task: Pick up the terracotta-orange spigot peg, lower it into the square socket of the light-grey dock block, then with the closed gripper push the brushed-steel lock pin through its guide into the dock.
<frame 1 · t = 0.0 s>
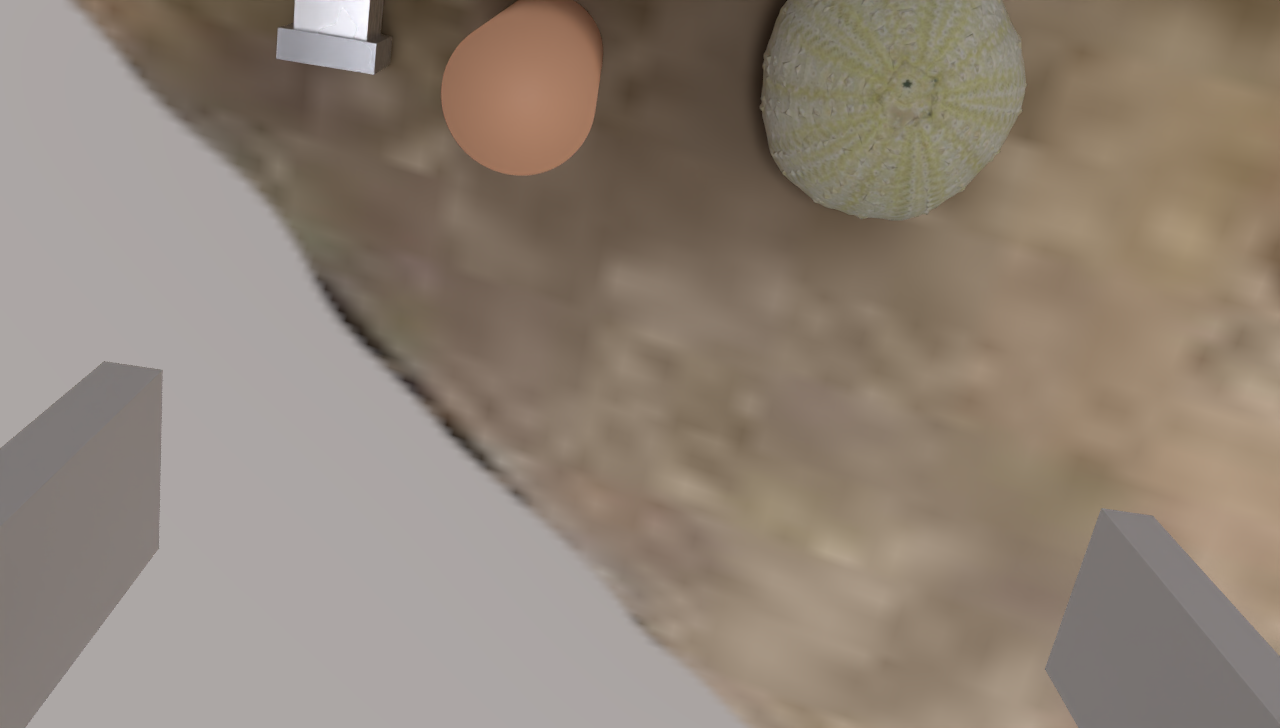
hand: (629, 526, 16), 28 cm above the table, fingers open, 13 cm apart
spigot peg: (547, 51, 41), on the table
sea urchin shell: (878, 77, 42), on the table
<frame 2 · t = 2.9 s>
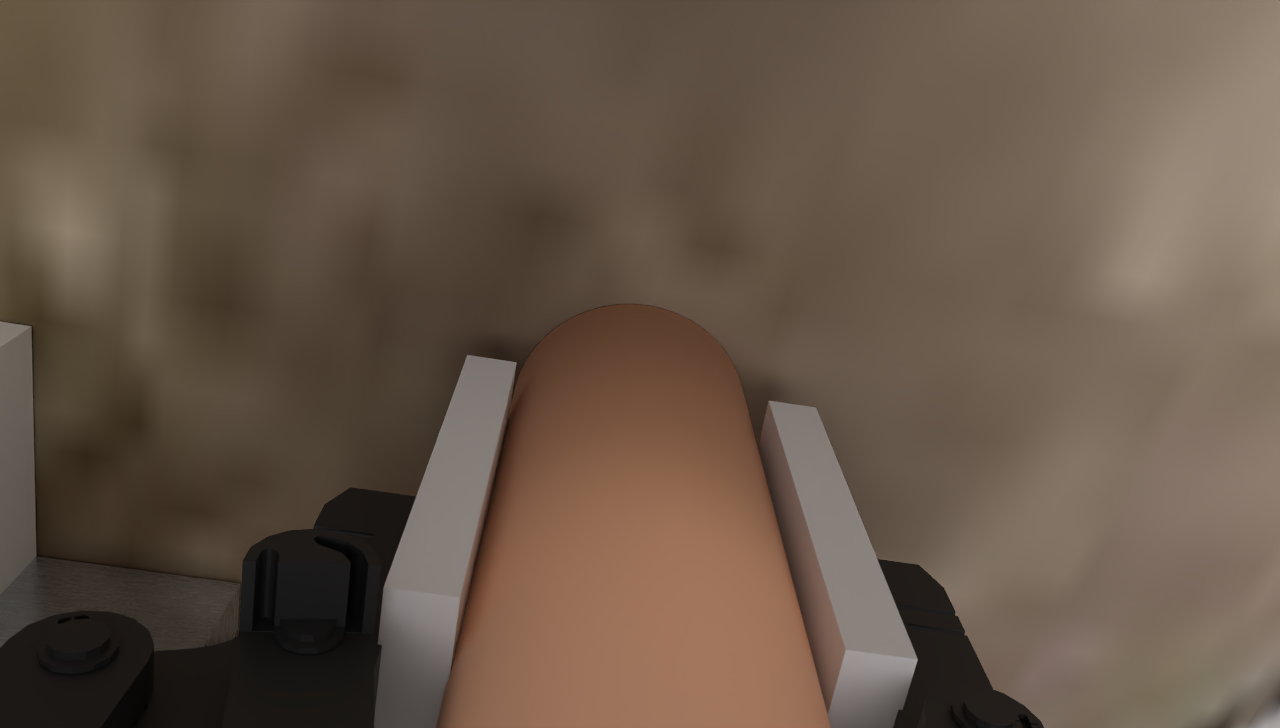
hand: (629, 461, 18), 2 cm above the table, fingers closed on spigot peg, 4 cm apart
spigot peg: (628, 415, 20), on the table, touching gripper
pin guide: (137, 688, 21), on the table
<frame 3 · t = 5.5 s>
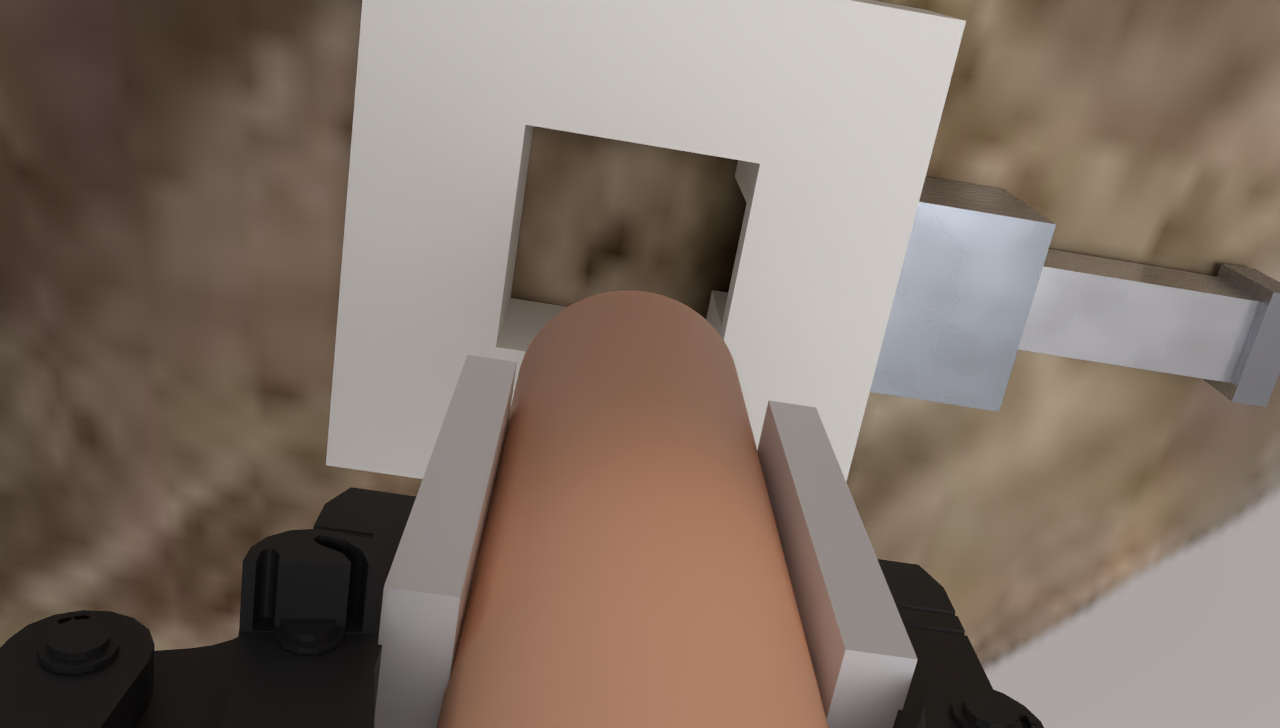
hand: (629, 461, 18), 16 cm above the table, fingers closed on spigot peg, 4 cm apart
dock: (623, 218, 33), on the table
spigot peg: (628, 396, 20), point 13 cm above the table, touching gripper
pin guide: (920, 266, 33), on the table
lock pin: (1091, 309, 32), point 2 cm above the table, slide at 5.0 cm
when the fingers open (5 cm above the table, at t = 8.1 s): spigot peg drops 2 cm, resting in dock.
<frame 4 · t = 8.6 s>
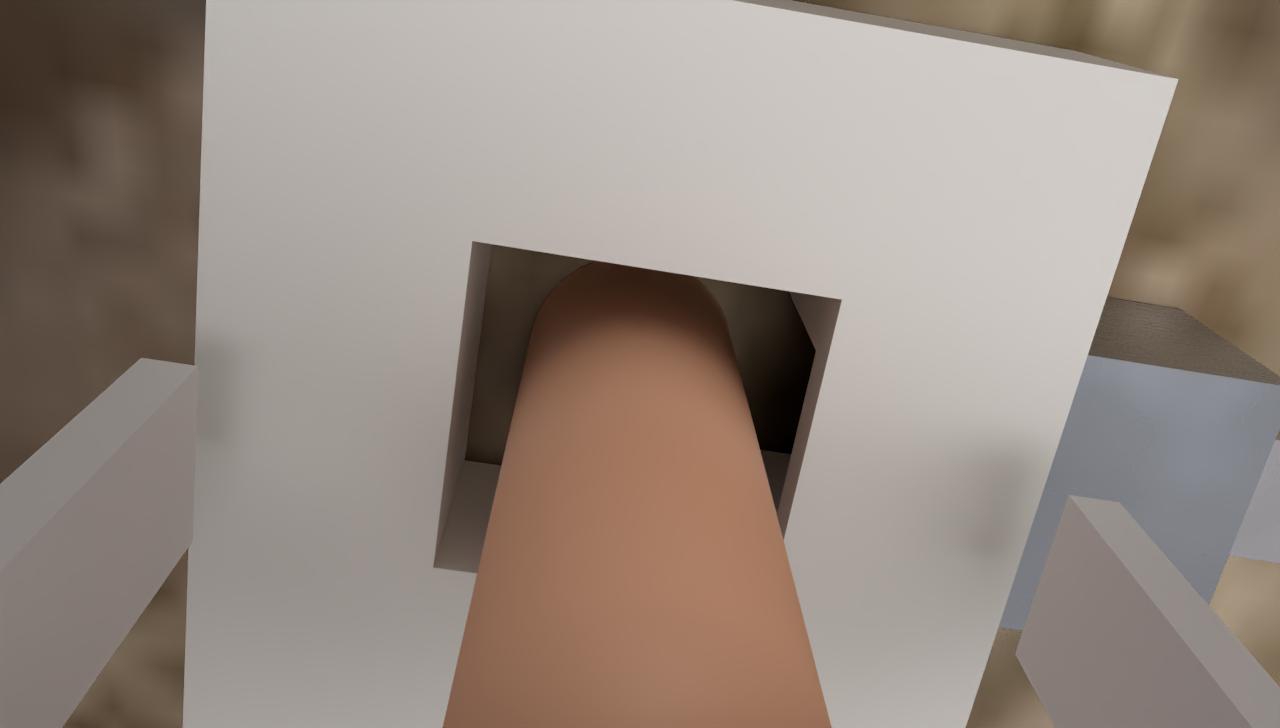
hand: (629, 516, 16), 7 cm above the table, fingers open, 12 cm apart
dock: (627, 350, 23), on the table
spigot peg: (630, 353, 23), resting in dock
pin guide: (1054, 415, 23), on the table
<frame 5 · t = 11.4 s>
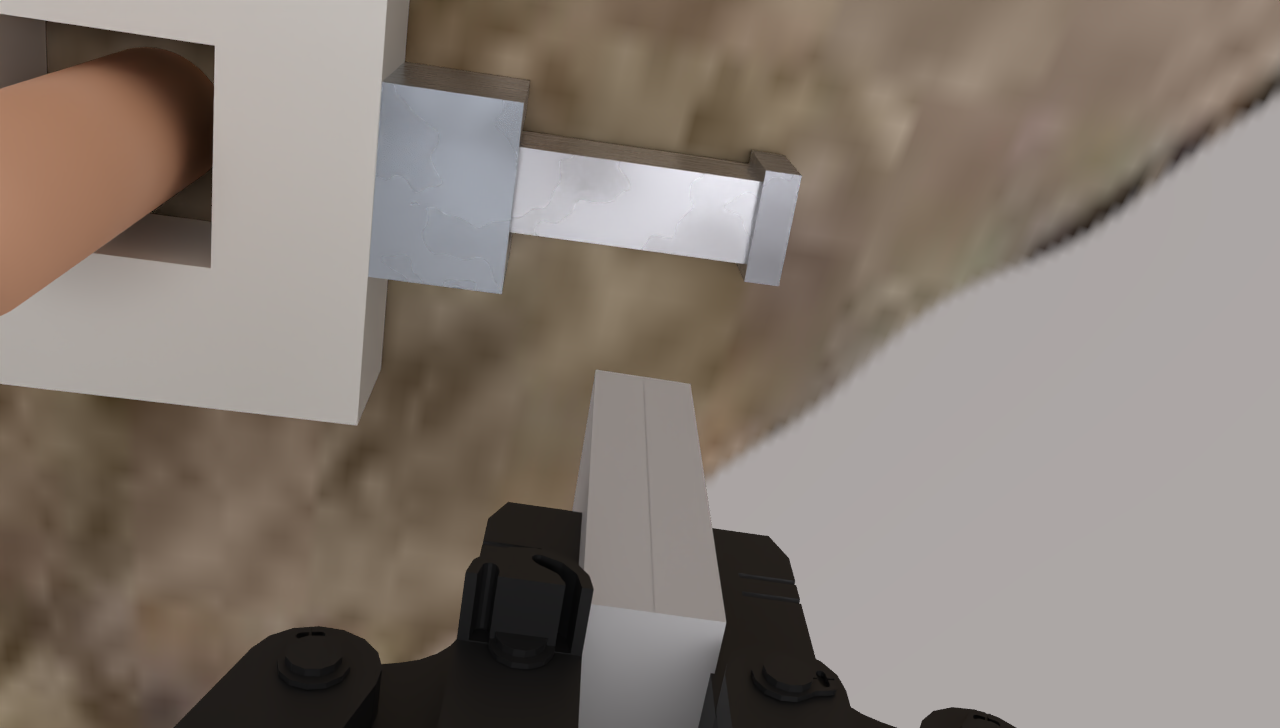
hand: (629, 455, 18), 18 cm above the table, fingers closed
dock: (152, 116, 33), on the table
spigot peg: (155, 118, 33), resting in dock
pin guide: (459, 159, 34), on the table
lock pin: (611, 195, 33), point 2 cm above the table, slide at 5.0 cm
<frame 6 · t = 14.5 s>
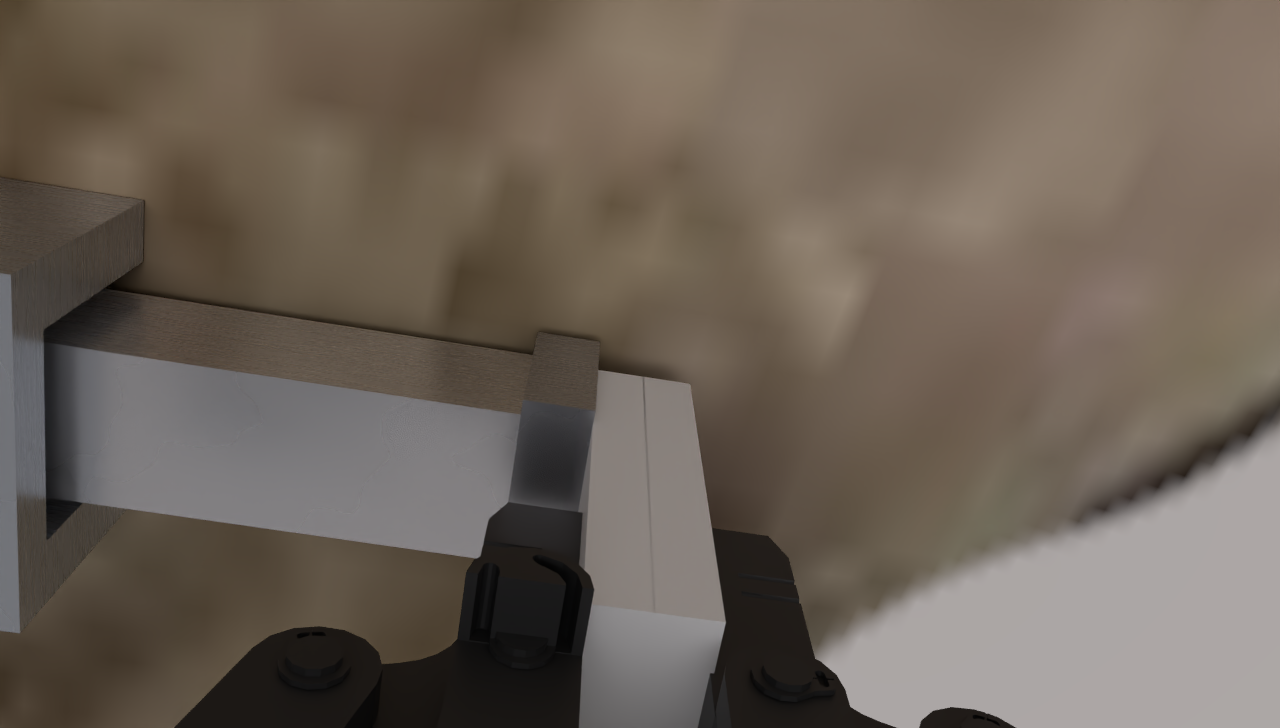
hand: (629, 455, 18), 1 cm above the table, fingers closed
pin guide: (28, 337, 19), on the table
lock pin: (252, 420, 17), point 2 cm above the table, slide at 4.6 cm, touching gripper
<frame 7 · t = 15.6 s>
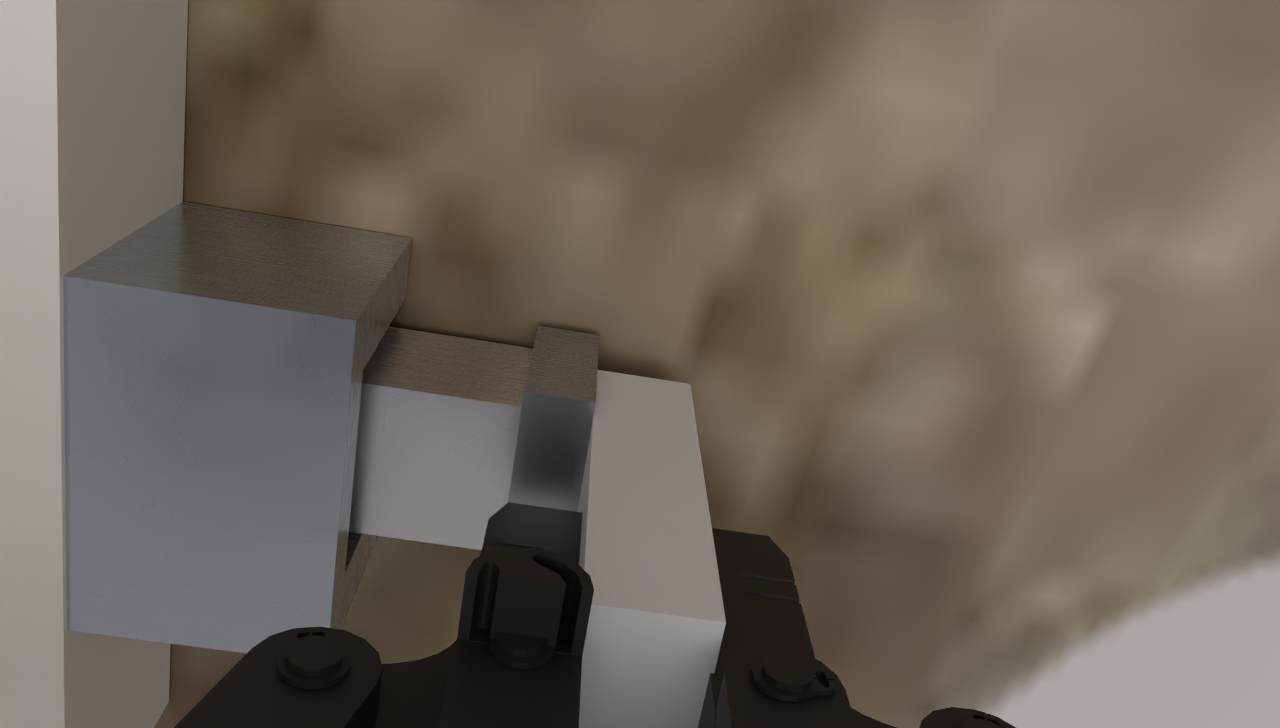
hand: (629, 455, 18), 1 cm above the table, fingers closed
pin guide: (288, 371, 19), on the table
lock pin: (254, 413, 17), point 2 cm above the table, slide at 0.5 cm, touching gripper
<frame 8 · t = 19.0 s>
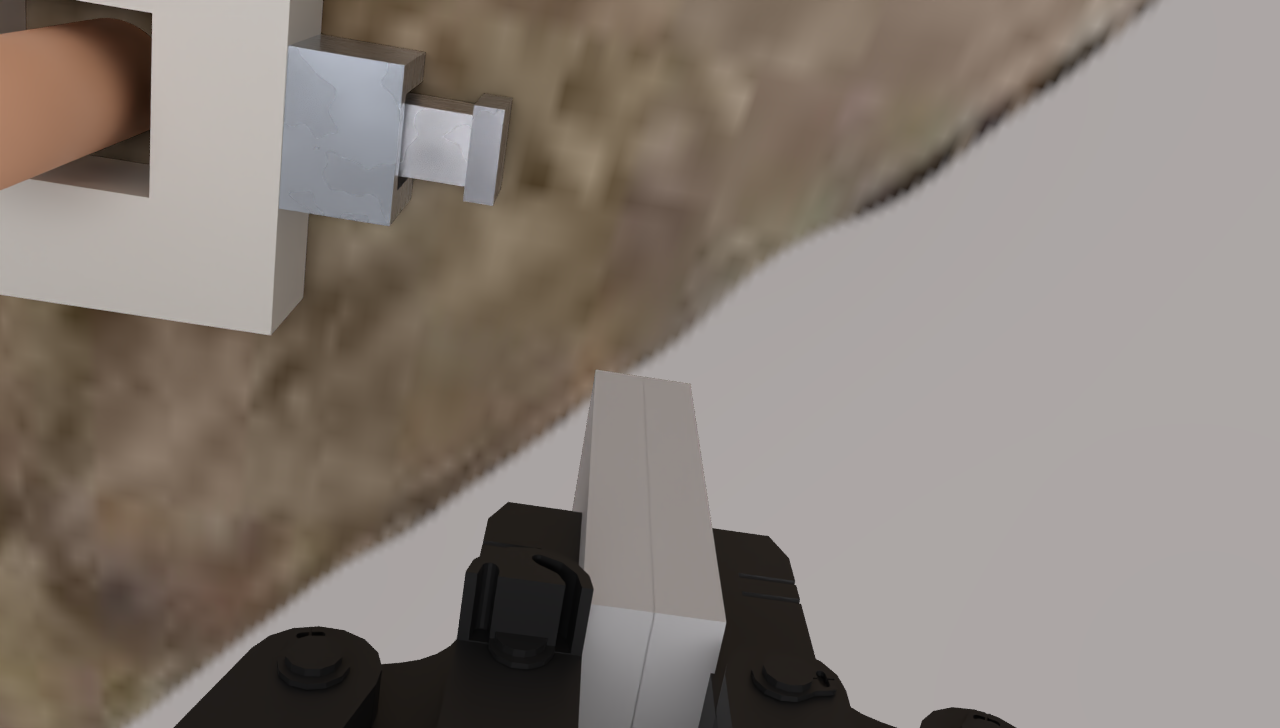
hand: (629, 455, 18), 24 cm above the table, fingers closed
dock: (112, 76, 40), on the table
spigot peg: (114, 78, 40), resting in dock
pin guide: (367, 118, 40), on the table
lock pin: (355, 126, 39), point 2 cm above the table, slide at 0.5 cm
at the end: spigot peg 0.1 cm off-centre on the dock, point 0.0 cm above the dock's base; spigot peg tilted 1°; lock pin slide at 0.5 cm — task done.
